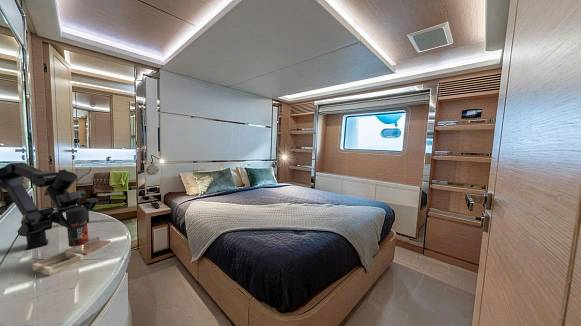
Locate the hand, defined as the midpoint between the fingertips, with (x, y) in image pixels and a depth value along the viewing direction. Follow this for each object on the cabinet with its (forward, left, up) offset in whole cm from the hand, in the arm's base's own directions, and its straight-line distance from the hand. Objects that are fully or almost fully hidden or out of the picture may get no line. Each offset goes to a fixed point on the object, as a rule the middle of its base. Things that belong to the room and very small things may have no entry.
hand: (79, 224), depth 88 cm
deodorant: (-1, -1, -9) cm, 9 cm away
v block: (-6, +2, -13) cm, 15 cm away
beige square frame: (+4, -7, -13) cm, 15 cm away
